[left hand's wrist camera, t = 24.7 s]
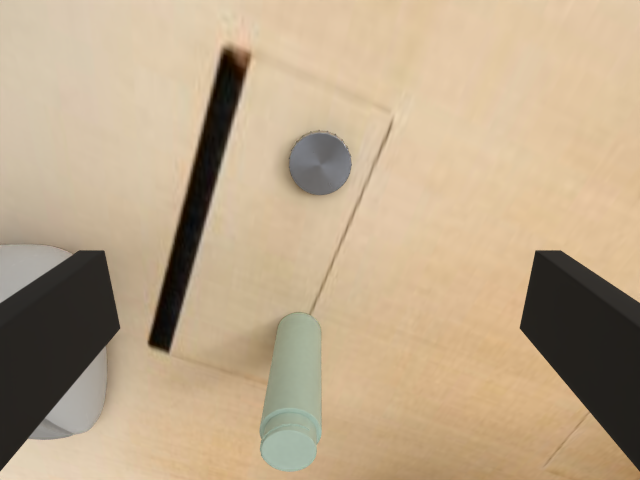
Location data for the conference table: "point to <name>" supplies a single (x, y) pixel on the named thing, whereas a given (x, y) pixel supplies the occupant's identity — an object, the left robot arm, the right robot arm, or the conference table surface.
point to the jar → (293, 395)
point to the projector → (90, 388)
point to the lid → (320, 162)
